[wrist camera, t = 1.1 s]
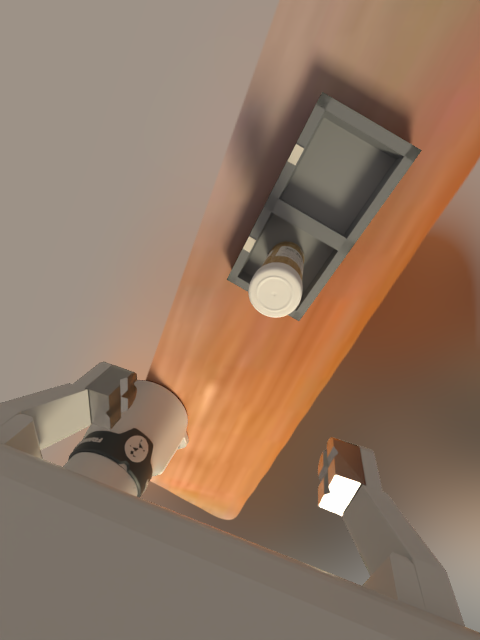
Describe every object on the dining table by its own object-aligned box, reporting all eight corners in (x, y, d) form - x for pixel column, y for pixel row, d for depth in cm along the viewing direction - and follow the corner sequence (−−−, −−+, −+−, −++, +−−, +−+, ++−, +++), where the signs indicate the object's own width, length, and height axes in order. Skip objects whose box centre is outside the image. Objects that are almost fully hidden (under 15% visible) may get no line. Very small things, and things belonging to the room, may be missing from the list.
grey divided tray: (300, 310, 38) (299, 321, 35) (233, 272, 38) (226, 279, 35) (409, 154, 28) (422, 150, 25) (321, 103, 28) (322, 91, 25)
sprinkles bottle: (261, 253, 35) (236, 285, 23) (292, 233, 33) (282, 256, 22) (281, 283, 36) (266, 327, 24) (312, 264, 34) (312, 303, 23)
